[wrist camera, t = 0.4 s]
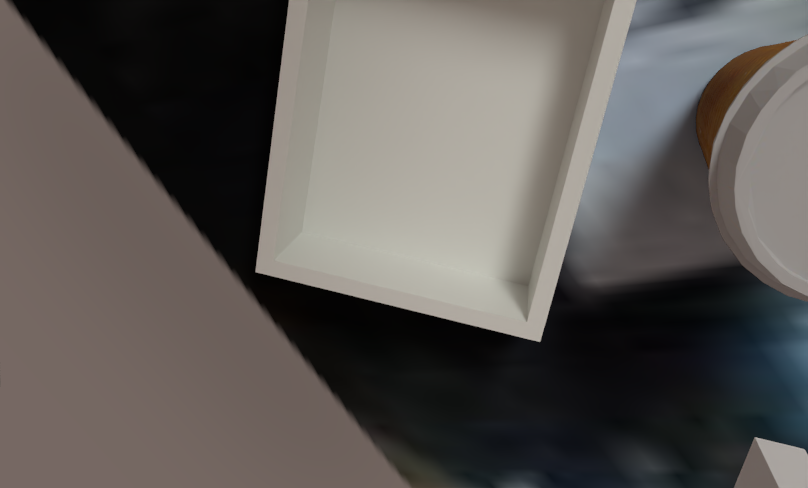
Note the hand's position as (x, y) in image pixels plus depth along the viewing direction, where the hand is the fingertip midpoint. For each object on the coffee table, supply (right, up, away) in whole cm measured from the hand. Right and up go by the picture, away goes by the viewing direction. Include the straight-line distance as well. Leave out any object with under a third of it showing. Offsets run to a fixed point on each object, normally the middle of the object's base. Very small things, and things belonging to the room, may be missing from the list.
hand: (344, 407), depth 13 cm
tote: (+3, +10, +23) cm, 25 cm away
